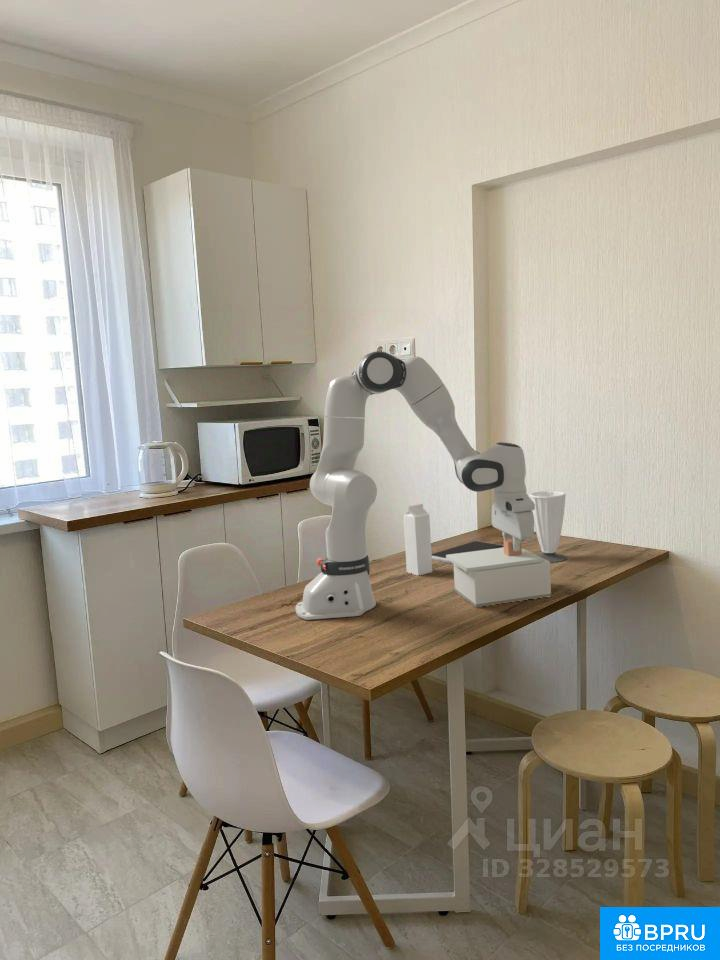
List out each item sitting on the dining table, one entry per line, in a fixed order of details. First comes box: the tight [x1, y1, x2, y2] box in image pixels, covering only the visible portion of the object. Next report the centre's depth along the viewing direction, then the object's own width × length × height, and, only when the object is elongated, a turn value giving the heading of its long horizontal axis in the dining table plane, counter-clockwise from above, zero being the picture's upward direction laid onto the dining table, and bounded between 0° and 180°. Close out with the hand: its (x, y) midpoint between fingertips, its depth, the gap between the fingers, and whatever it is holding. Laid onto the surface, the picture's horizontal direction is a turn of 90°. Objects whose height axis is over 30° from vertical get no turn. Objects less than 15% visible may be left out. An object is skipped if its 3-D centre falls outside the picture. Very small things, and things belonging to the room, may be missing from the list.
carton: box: [452, 548, 552, 608], centre depth 200 cm, size 22×16×10 cm
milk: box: [402, 503, 433, 577], centre depth 228 cm, size 6×6×22 cm
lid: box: [446, 538, 543, 572], centre depth 199 cm, size 22×16×5 cm
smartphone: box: [432, 540, 504, 565], centre depth 249 cm, size 13×27×2 cm, turn 132°
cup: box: [528, 490, 568, 564], centre depth 234 cm, size 12×12×22 cm
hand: (512, 548), depth 200 cm, fingers closed on lid, 3 cm apart
